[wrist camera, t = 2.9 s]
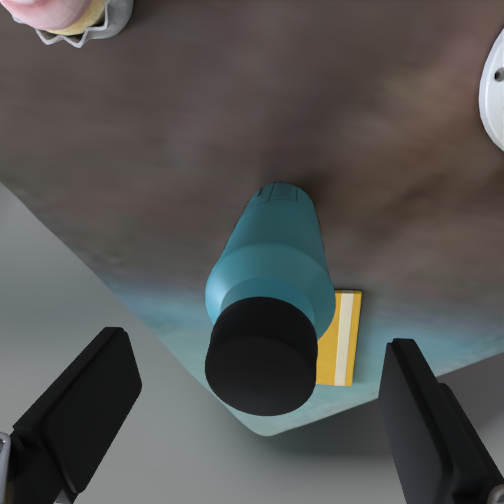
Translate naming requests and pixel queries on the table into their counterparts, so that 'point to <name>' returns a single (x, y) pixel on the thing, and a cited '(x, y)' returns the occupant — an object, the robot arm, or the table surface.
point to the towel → (340, 341)
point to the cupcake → (72, 18)
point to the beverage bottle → (269, 305)
